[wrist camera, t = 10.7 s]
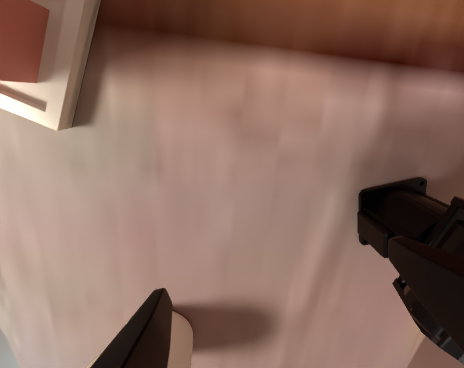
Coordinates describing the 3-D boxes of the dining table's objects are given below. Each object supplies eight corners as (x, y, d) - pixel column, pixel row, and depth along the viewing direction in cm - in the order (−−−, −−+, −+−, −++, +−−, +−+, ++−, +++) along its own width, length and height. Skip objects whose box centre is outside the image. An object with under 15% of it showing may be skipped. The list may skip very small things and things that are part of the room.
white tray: (102, -6, 16) (88, -19, 14) (71, 127, 19) (57, 130, 17) (-68, -99, 14) (-108, -126, 12) (-72, 68, 17) (-104, 65, 15)
